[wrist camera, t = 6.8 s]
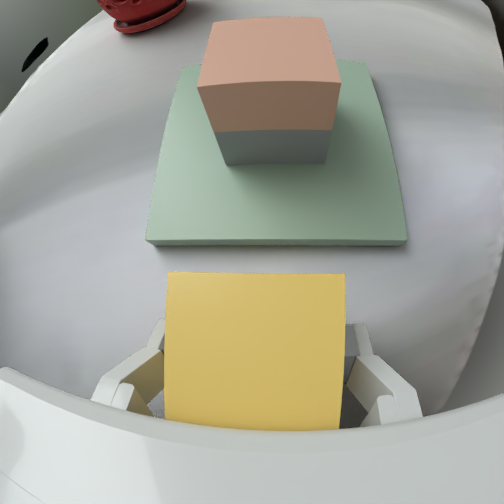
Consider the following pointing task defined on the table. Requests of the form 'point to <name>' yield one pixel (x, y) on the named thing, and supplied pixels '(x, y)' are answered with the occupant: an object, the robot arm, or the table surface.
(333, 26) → the table surface
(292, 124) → the baseplate tower
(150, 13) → the plant pot
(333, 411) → the mustard brick
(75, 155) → the table surface
